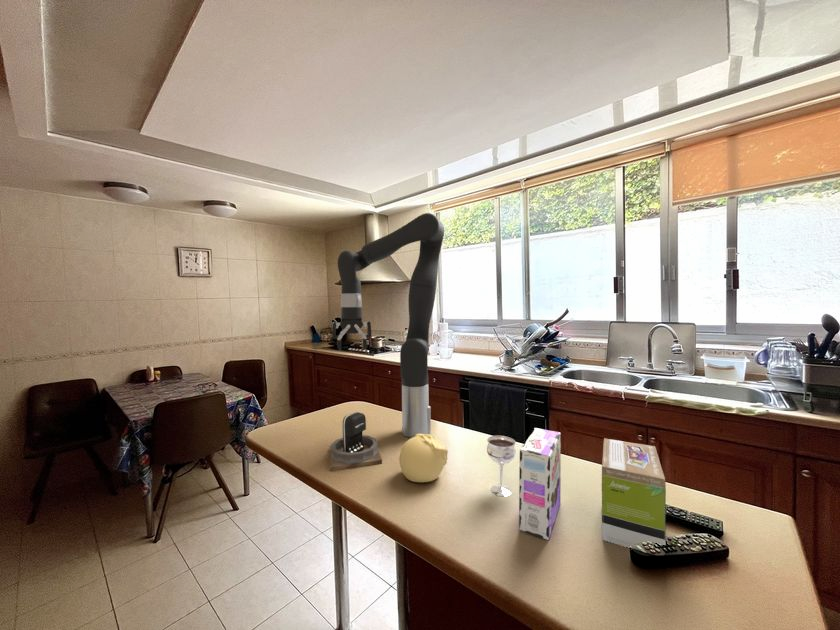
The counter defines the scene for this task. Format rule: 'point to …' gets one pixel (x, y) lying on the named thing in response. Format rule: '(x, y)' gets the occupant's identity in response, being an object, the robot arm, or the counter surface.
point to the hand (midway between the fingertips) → (352, 349)
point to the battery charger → (353, 432)
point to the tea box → (632, 494)
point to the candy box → (540, 482)
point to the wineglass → (501, 459)
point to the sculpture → (423, 458)
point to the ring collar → (354, 454)
